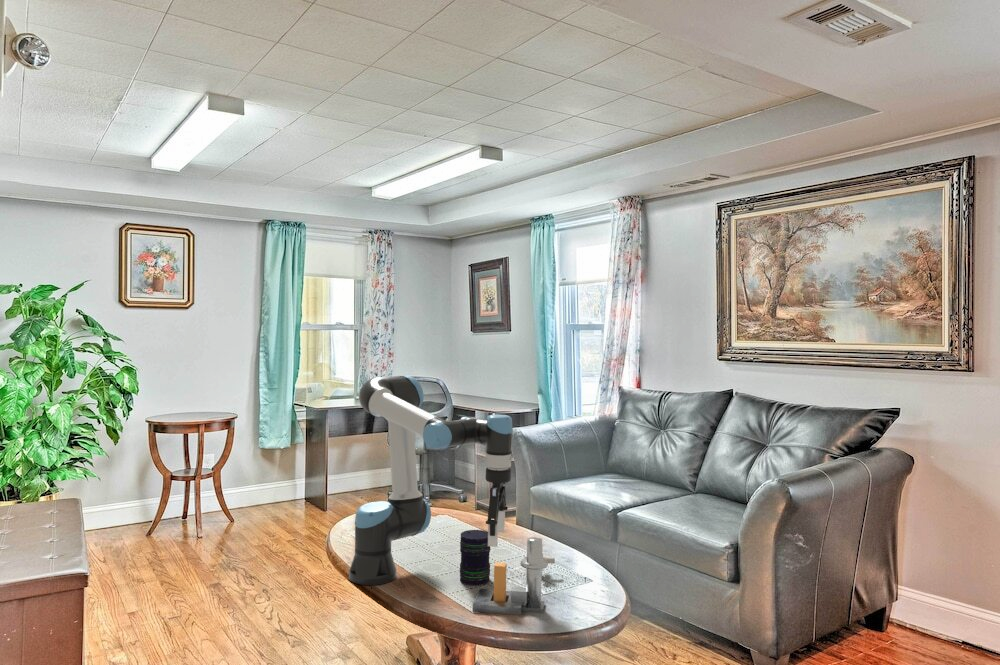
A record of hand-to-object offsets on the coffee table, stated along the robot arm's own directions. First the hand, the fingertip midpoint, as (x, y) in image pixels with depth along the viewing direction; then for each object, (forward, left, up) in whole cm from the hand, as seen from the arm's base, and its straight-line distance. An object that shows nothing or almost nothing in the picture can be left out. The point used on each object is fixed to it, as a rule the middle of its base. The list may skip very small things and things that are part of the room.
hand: (496, 539), depth 207 cm
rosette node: (+5, -1, -19) cm, 20 cm away
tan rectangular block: (+1, -1, -19) cm, 19 cm away
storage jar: (-10, +17, -19) cm, 28 cm away
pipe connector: (+10, +26, -19) cm, 34 cm away
